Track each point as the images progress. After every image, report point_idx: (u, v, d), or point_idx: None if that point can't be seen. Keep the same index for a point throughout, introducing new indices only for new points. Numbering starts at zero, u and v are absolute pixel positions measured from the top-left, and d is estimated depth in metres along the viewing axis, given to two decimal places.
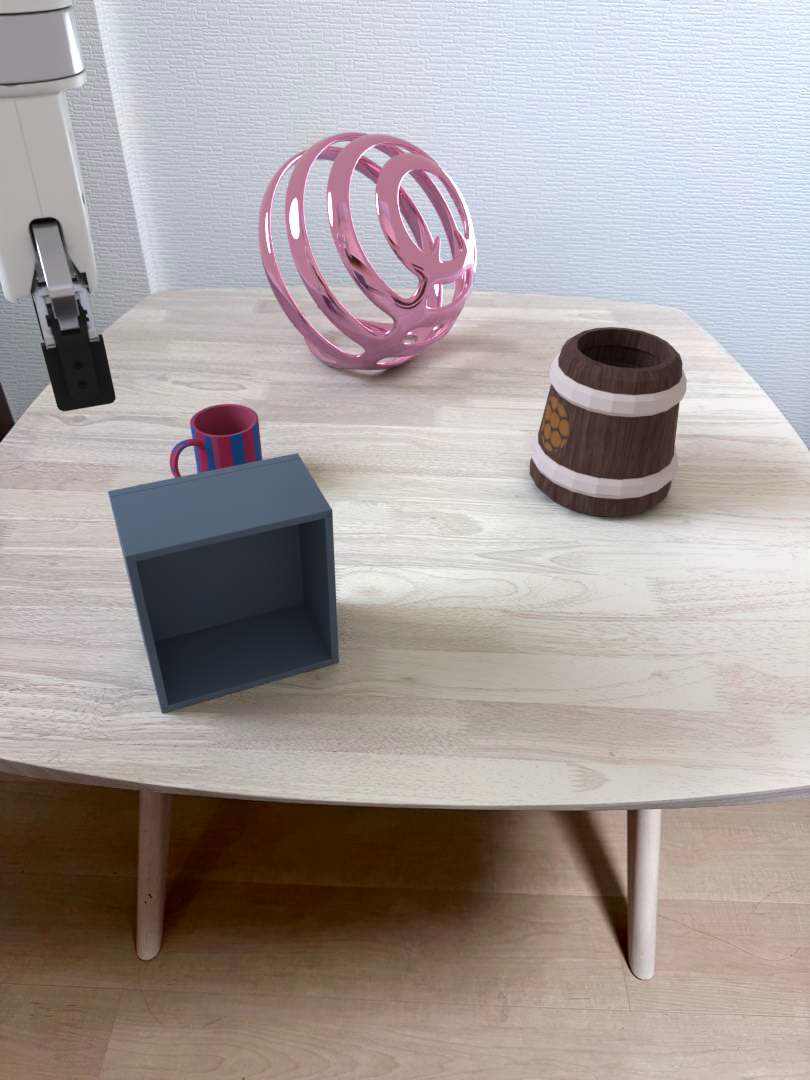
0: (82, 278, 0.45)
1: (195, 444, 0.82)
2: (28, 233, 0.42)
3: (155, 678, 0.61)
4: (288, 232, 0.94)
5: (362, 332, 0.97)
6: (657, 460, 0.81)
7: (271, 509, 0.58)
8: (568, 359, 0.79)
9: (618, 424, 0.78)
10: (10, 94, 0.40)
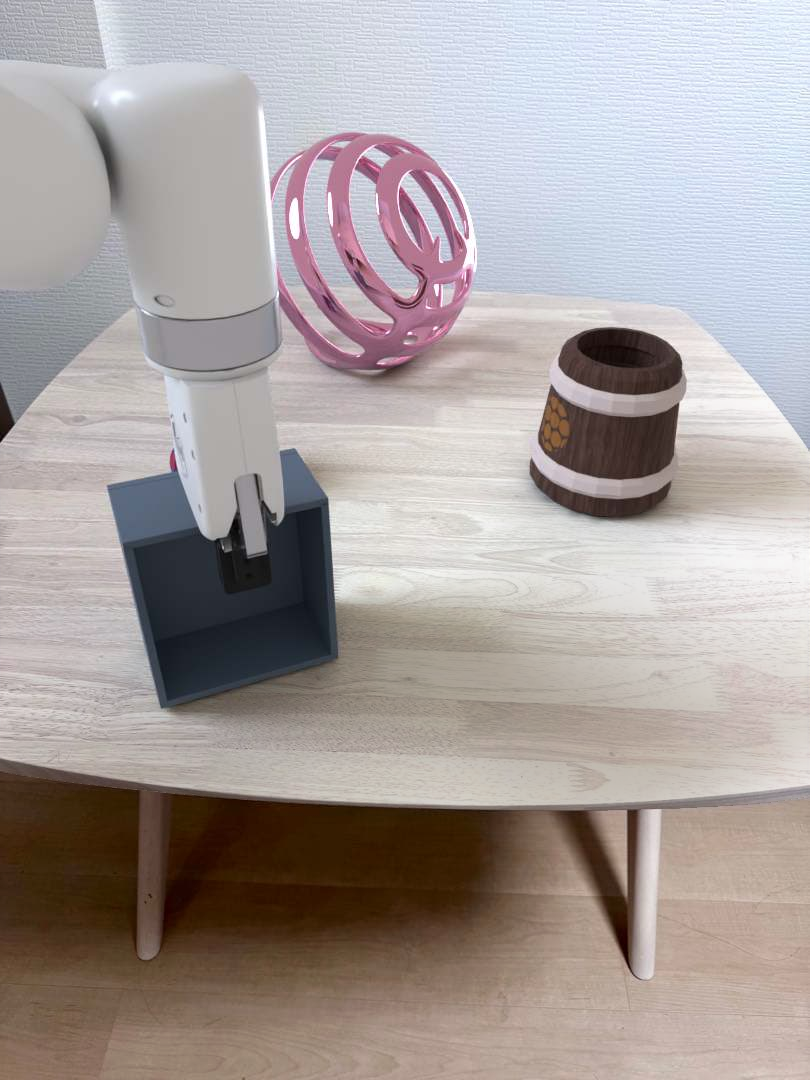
0: (263, 509, 0.52)
1: None
2: (233, 488, 0.46)
3: (153, 671, 0.61)
4: (288, 232, 0.94)
5: (362, 332, 0.97)
6: (657, 460, 0.81)
7: None
8: (568, 359, 0.79)
9: (618, 424, 0.78)
10: (228, 376, 0.44)
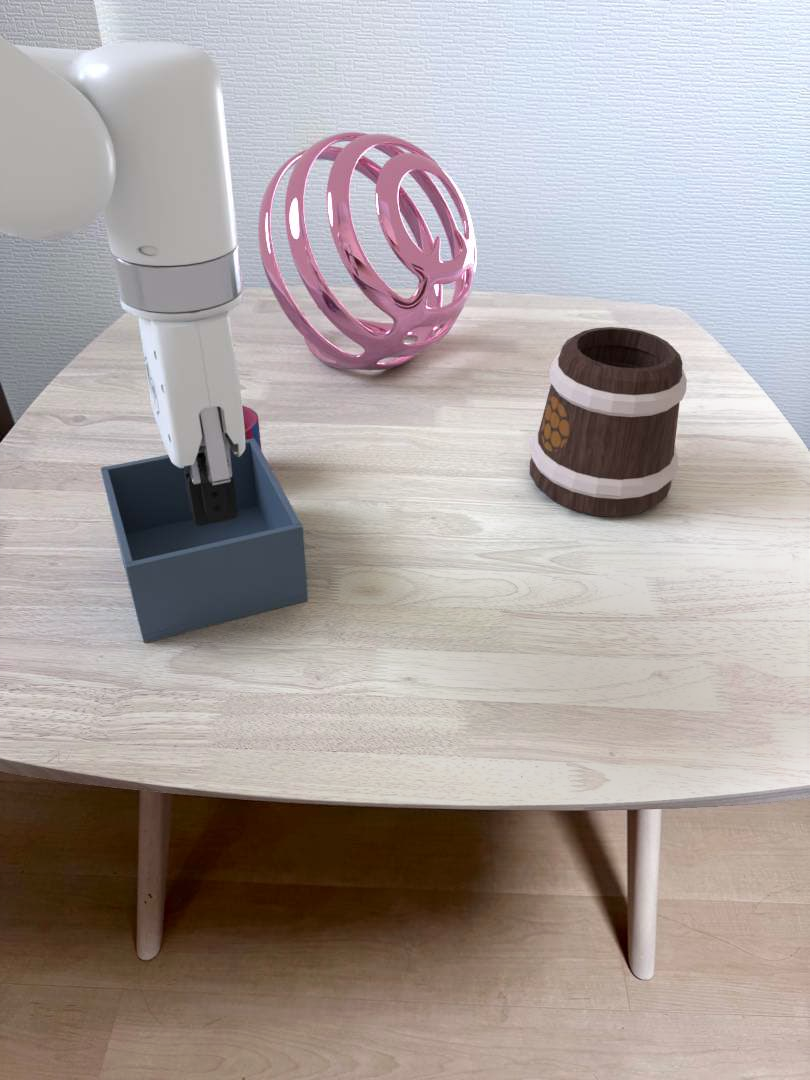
0: (227, 444, 0.58)
1: None
2: (198, 419, 0.53)
3: (120, 539, 0.67)
4: (288, 232, 0.94)
5: (362, 332, 0.97)
6: (657, 459, 0.81)
7: None
8: (568, 359, 0.79)
9: (618, 424, 0.78)
10: (193, 318, 0.50)
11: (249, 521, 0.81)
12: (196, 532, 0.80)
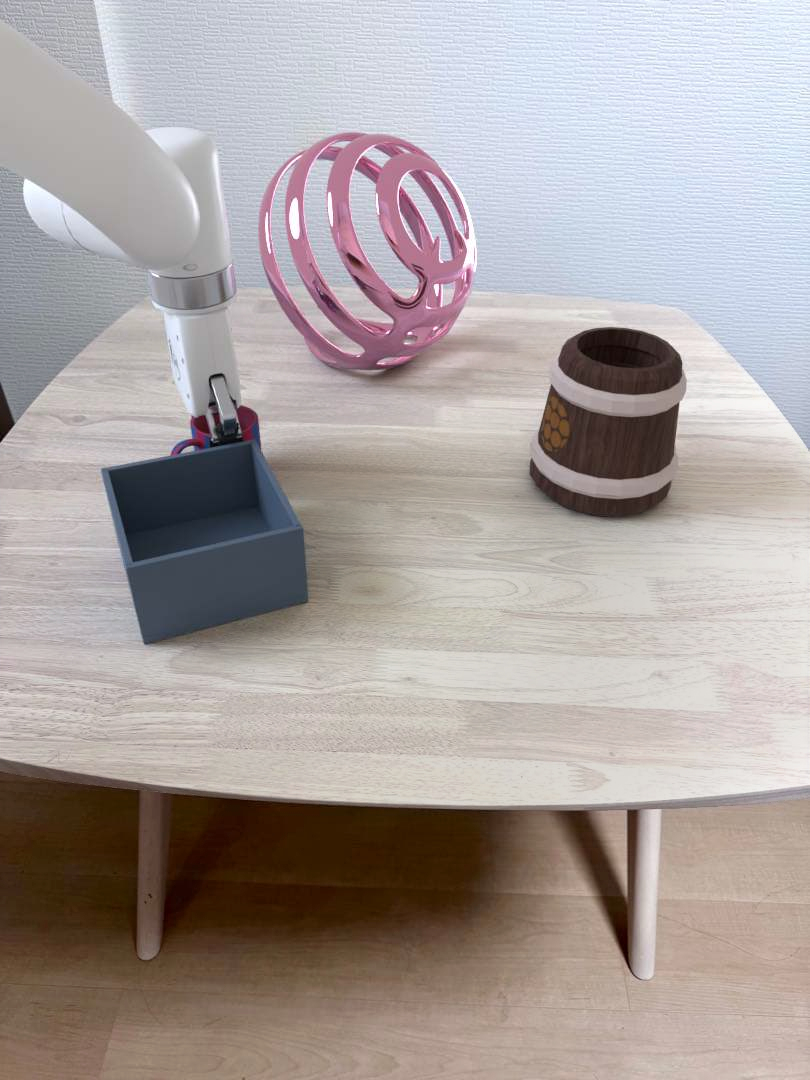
0: (232, 402, 0.79)
1: (195, 444, 0.82)
2: (208, 382, 0.76)
3: (120, 540, 0.67)
4: (288, 232, 0.94)
5: (362, 332, 0.97)
6: (657, 459, 0.81)
7: None
8: (568, 359, 0.79)
9: (618, 424, 0.78)
10: (202, 312, 0.73)
11: (249, 522, 0.81)
12: (196, 533, 0.79)
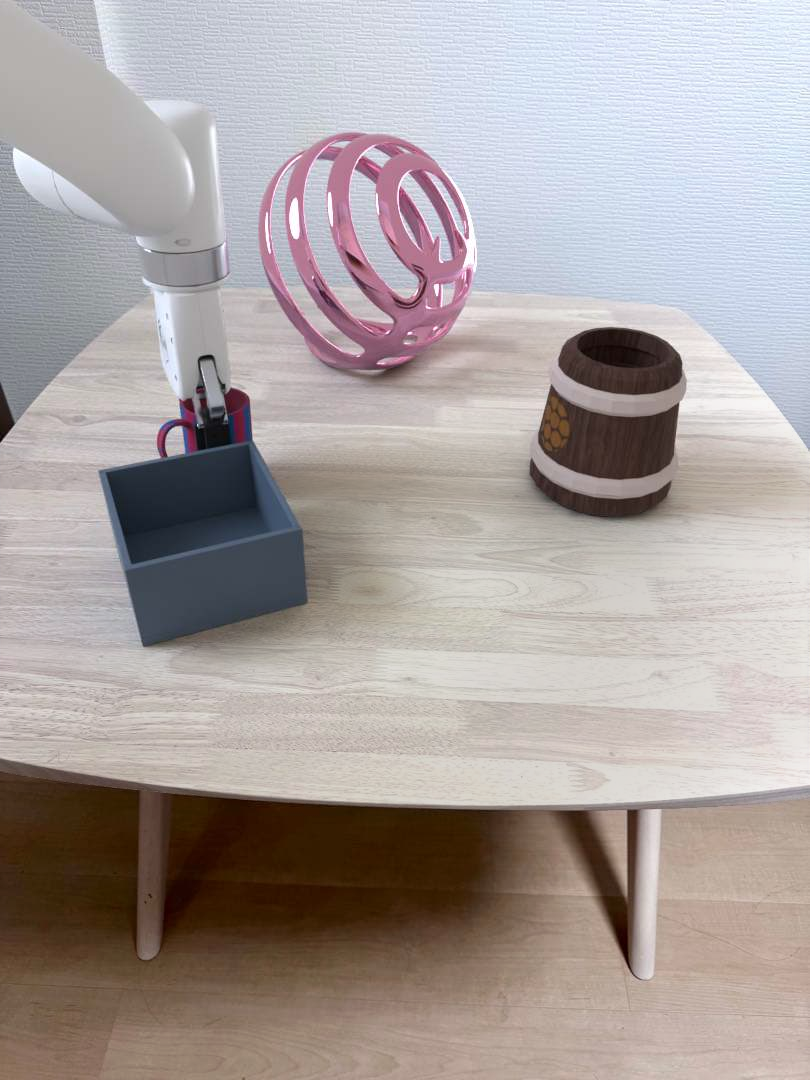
0: (221, 388, 0.77)
1: (184, 424, 0.80)
2: (197, 363, 0.74)
3: (118, 542, 0.66)
4: (288, 232, 0.94)
5: (362, 332, 0.97)
6: (657, 459, 0.81)
7: None
8: (568, 359, 0.79)
9: (618, 424, 0.78)
10: (194, 290, 0.71)
11: (248, 523, 0.81)
12: (195, 535, 0.79)
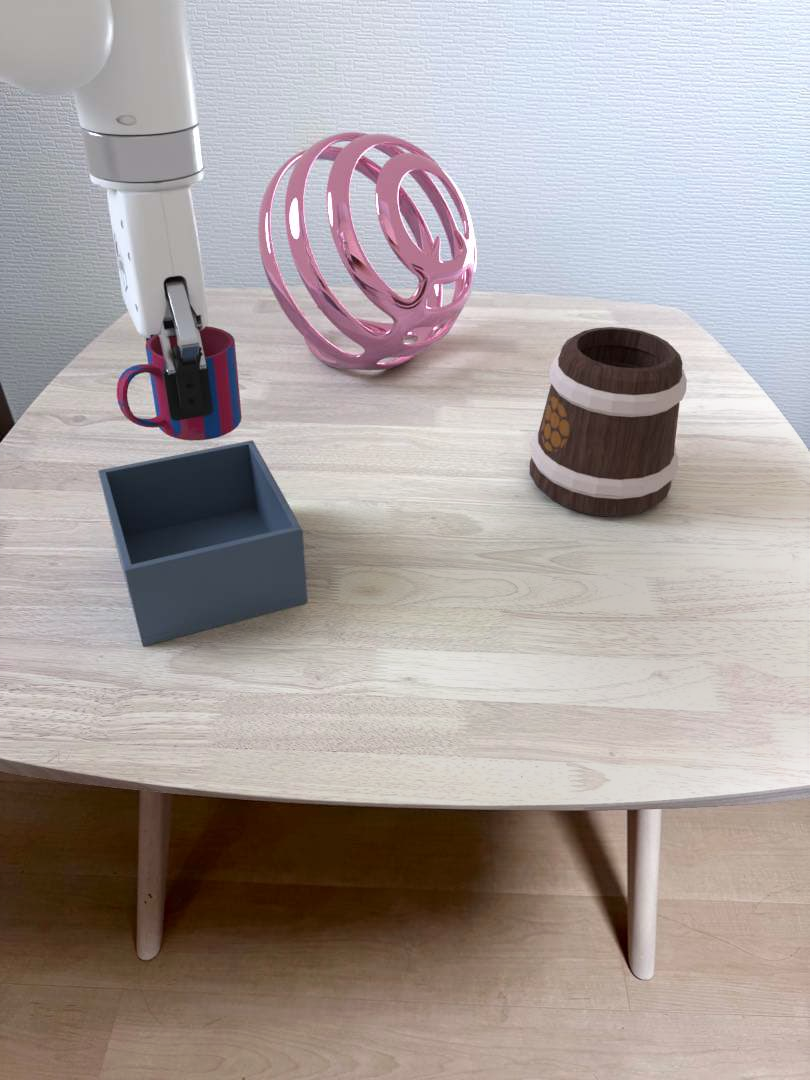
0: (196, 323, 0.61)
1: (151, 370, 0.63)
2: (163, 287, 0.57)
3: (118, 542, 0.66)
4: (288, 232, 0.94)
5: (362, 332, 0.97)
6: (657, 459, 0.81)
7: None
8: (568, 359, 0.79)
9: (618, 424, 0.78)
10: (156, 188, 0.54)
11: (248, 523, 0.81)
12: (195, 535, 0.79)
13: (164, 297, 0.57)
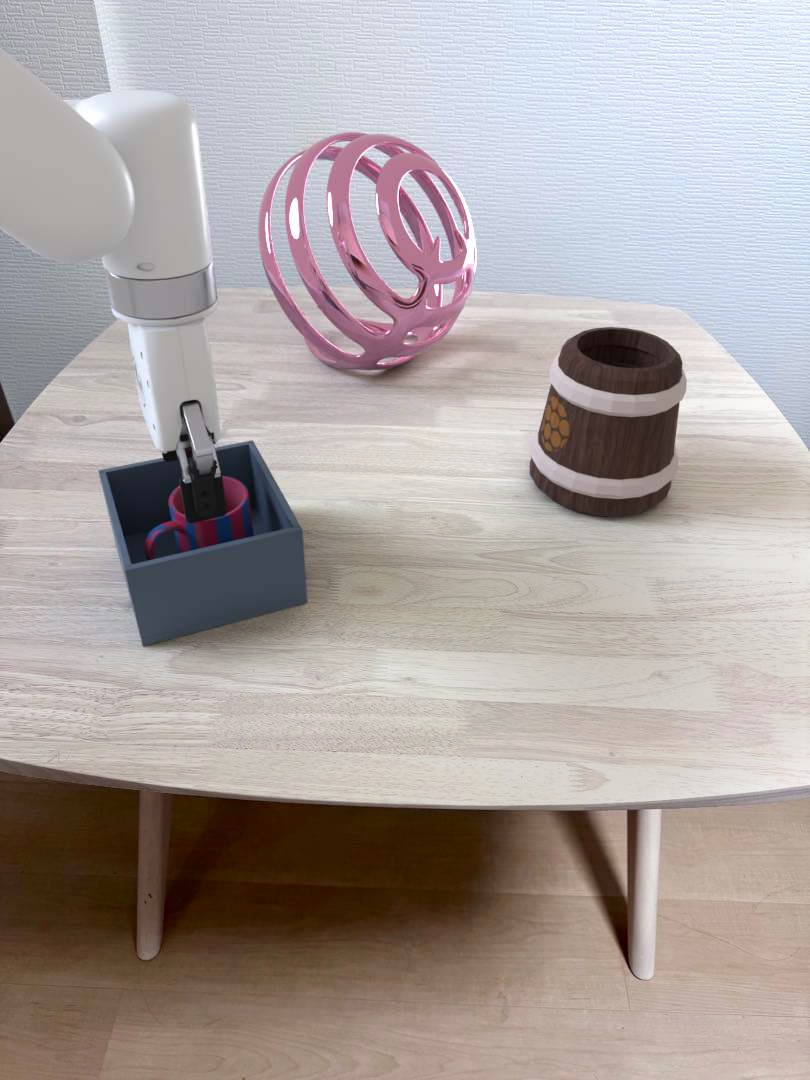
0: (210, 434, 0.64)
1: (174, 528, 0.70)
2: (179, 410, 0.61)
3: (118, 542, 0.66)
4: (288, 232, 0.94)
5: (362, 332, 0.97)
6: (657, 459, 0.81)
7: None
8: (568, 359, 0.79)
9: (618, 424, 0.78)
10: (174, 324, 0.59)
11: None
12: None
13: (180, 419, 0.61)
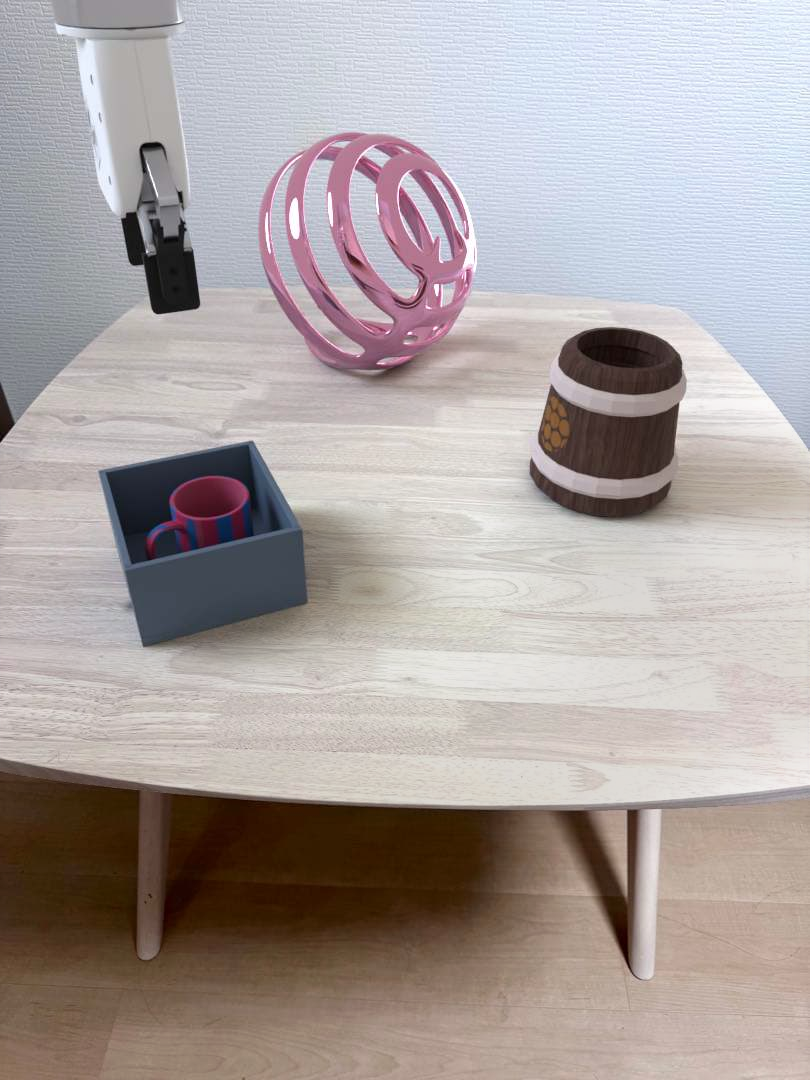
0: (178, 197, 0.54)
1: (175, 528, 0.70)
2: (138, 155, 0.51)
3: (118, 542, 0.67)
4: (288, 232, 0.94)
5: (362, 332, 0.97)
6: (657, 460, 0.81)
7: None
8: (568, 359, 0.79)
9: (618, 424, 0.78)
10: (129, 37, 0.48)
11: None
12: None
13: (140, 167, 0.51)
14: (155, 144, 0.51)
